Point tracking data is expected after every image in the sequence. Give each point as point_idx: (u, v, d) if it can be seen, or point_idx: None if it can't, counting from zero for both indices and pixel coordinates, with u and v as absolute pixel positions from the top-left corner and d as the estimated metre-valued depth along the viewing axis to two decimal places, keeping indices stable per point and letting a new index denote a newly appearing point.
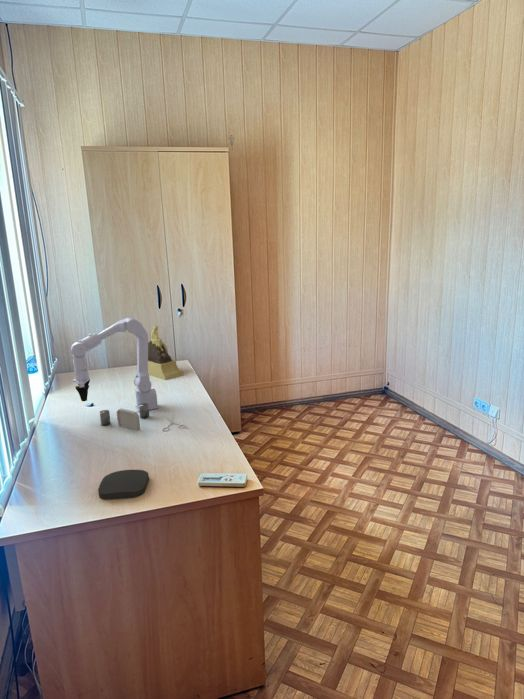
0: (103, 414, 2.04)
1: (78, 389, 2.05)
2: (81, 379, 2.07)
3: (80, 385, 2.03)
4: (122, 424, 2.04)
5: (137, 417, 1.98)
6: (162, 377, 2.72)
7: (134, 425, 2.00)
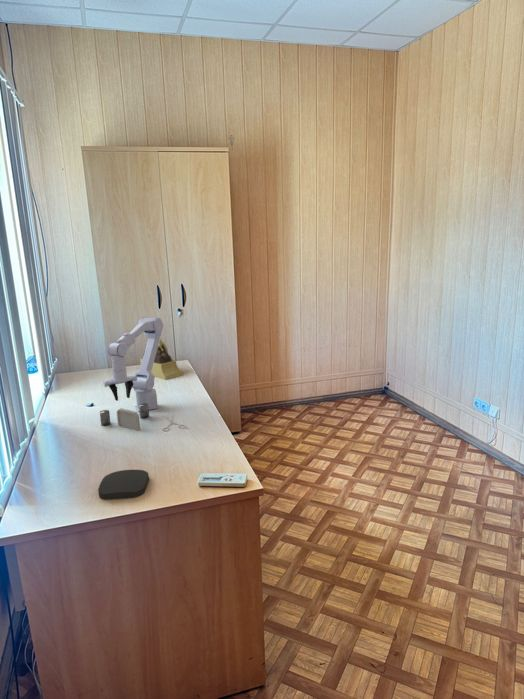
0: (103, 414, 2.04)
1: (109, 386, 2.08)
2: (113, 379, 2.07)
3: None
4: (122, 424, 2.04)
5: (137, 417, 1.98)
6: (162, 377, 2.72)
7: (134, 425, 2.00)
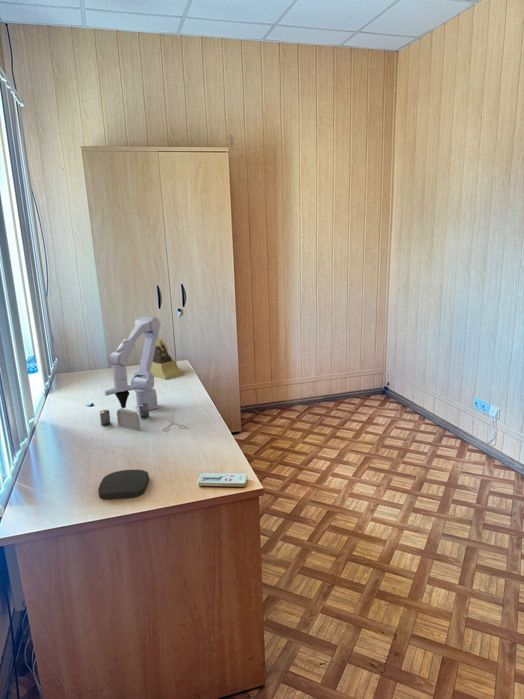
0: (103, 414, 2.04)
1: (115, 394, 2.10)
2: (114, 388, 2.08)
3: (105, 393, 2.06)
4: (122, 424, 2.04)
5: (137, 417, 1.98)
6: (162, 377, 2.72)
7: (134, 425, 2.00)
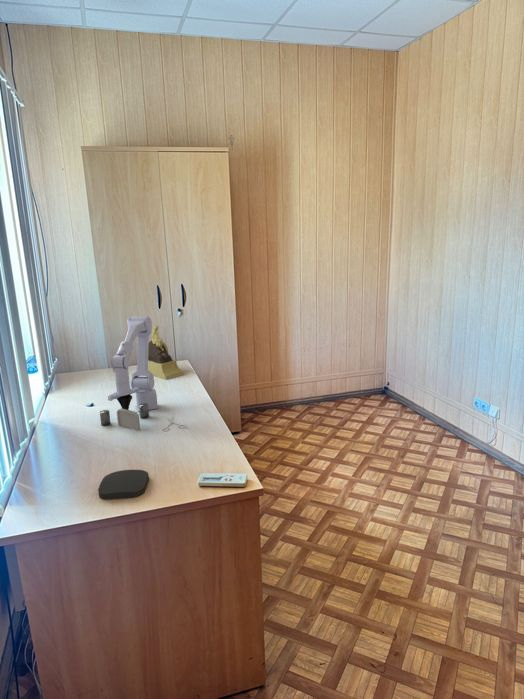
0: (103, 414, 2.04)
1: (117, 399, 2.04)
2: (117, 392, 2.02)
3: (108, 398, 1.99)
4: (122, 424, 2.04)
5: (137, 417, 1.98)
6: (162, 377, 2.72)
7: (134, 425, 2.00)
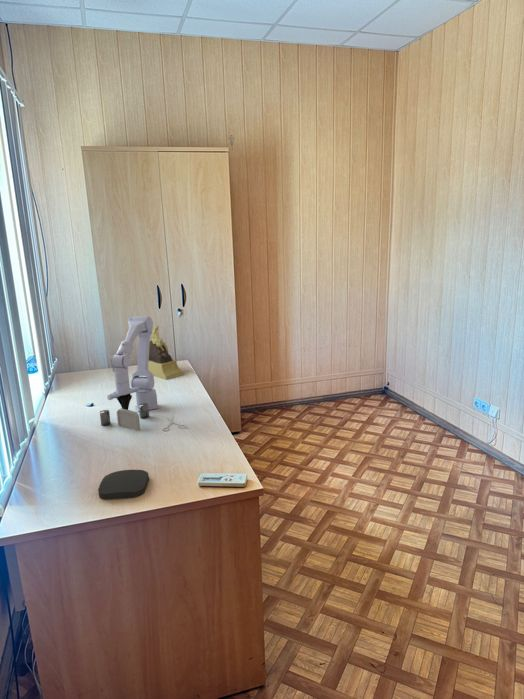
0: (103, 414, 2.04)
1: (117, 398, 2.05)
2: (117, 391, 2.03)
3: (107, 397, 2.00)
4: (122, 424, 2.04)
5: (137, 417, 1.98)
6: (163, 377, 2.72)
7: (134, 425, 2.00)
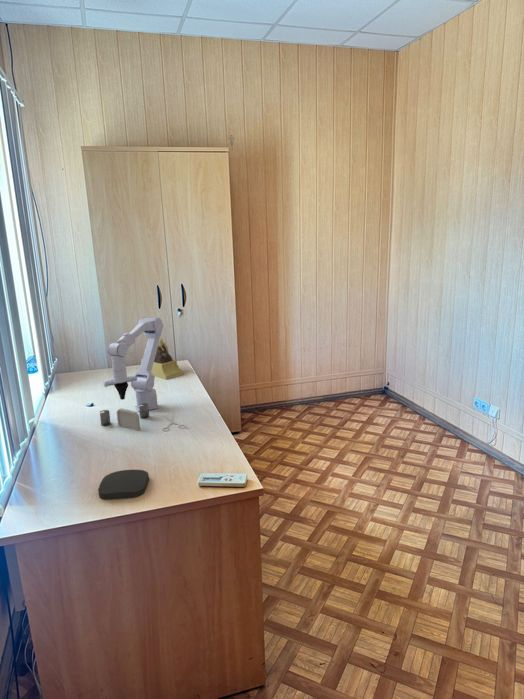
0: (103, 414, 2.04)
1: None
2: (113, 379, 2.07)
3: None
4: (122, 424, 2.04)
5: (137, 417, 1.98)
6: (163, 377, 2.72)
7: (134, 425, 2.00)
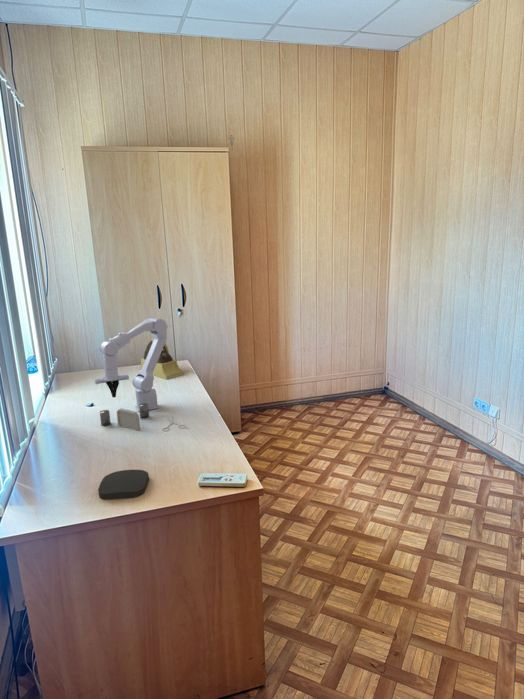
0: (103, 414, 2.04)
1: None
2: (105, 377, 2.11)
3: (95, 381, 2.10)
4: (122, 424, 2.04)
5: (137, 417, 1.98)
6: (163, 377, 2.73)
7: (134, 425, 2.00)
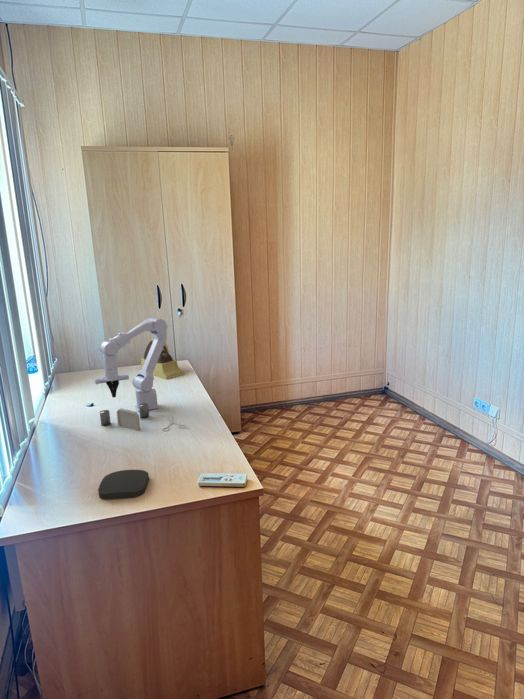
0: (103, 414, 2.04)
1: None
2: (105, 377, 2.11)
3: (95, 381, 2.10)
4: (122, 424, 2.04)
5: (137, 417, 1.98)
6: (163, 377, 2.73)
7: (134, 425, 2.00)
